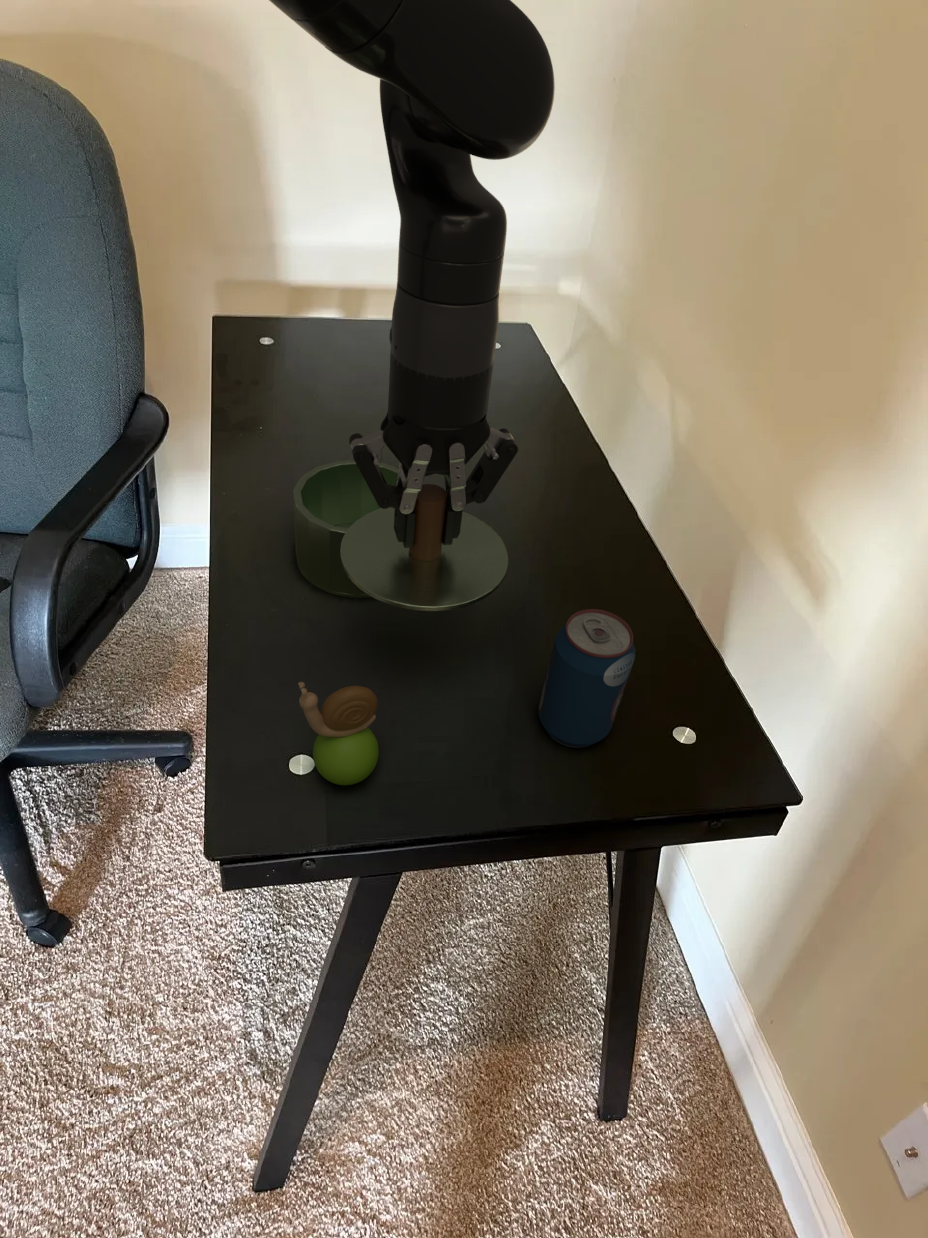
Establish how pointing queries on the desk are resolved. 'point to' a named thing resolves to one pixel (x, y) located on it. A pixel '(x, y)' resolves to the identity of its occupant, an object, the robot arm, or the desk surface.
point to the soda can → (586, 677)
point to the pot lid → (424, 558)
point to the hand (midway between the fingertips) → (426, 539)
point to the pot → (331, 521)
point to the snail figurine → (343, 733)
